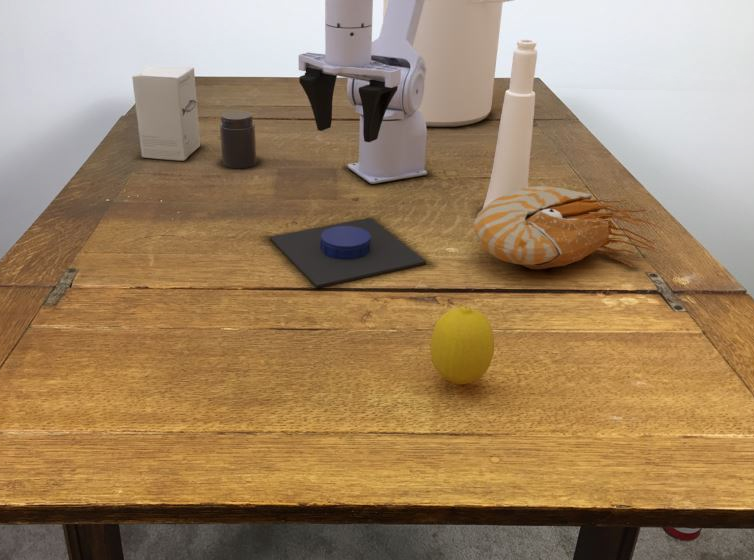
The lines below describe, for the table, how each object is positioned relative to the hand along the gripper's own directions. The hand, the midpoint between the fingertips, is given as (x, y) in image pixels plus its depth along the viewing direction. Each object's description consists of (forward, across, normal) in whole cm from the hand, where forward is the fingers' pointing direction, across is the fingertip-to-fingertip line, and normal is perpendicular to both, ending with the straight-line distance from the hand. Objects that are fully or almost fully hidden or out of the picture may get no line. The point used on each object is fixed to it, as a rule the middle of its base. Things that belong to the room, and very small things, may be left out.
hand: (347, 134), depth 103 cm
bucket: (+9, -13, +45) cm, 48 cm away
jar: (+9, -22, +3) cm, 24 cm away
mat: (+9, +9, -12) cm, 18 cm away
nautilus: (+10, +31, +1) cm, 32 cm away
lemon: (+10, +34, -28) cm, 45 cm away
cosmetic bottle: (+10, +19, +9) cm, 23 cm away
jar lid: (+8, +9, -13) cm, 17 cm away
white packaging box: (+10, -34, 0) cm, 35 cm away
